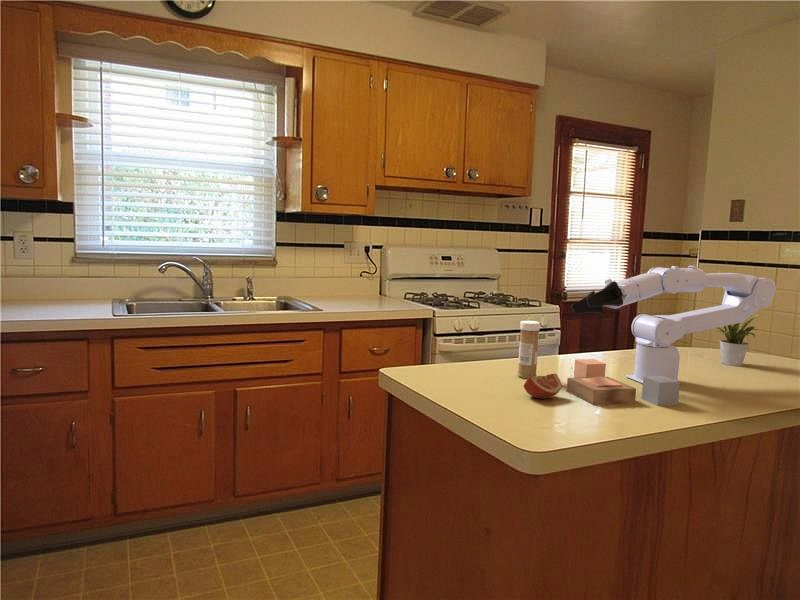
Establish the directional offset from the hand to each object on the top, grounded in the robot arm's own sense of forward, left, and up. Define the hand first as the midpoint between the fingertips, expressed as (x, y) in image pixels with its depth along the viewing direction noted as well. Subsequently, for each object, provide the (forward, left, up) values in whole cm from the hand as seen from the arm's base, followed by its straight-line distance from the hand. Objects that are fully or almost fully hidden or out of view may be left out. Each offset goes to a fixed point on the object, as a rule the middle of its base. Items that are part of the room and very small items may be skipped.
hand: (580, 306), depth 134 cm
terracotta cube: (-4, -1, -18) cm, 19 cm away
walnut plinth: (+1, +11, -18) cm, 22 cm away
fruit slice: (+14, +10, -18) cm, 25 cm away
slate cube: (-10, +16, -18) cm, 26 cm away
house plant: (-57, -15, -18) cm, 62 cm away
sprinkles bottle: (+9, -7, -18) cm, 21 cm away
